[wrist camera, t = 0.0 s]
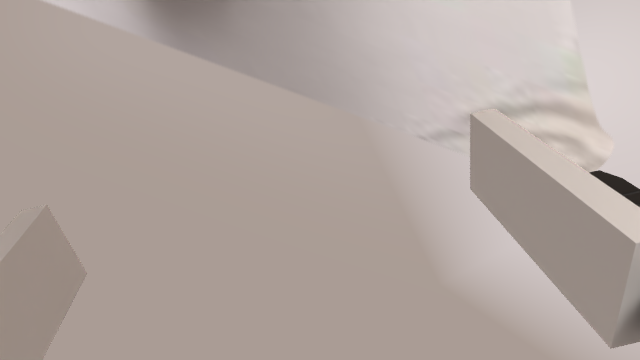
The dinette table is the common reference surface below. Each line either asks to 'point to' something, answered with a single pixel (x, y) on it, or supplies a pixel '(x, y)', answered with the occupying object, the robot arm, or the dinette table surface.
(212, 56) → the dinette table surface
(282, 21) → the dinette table surface
